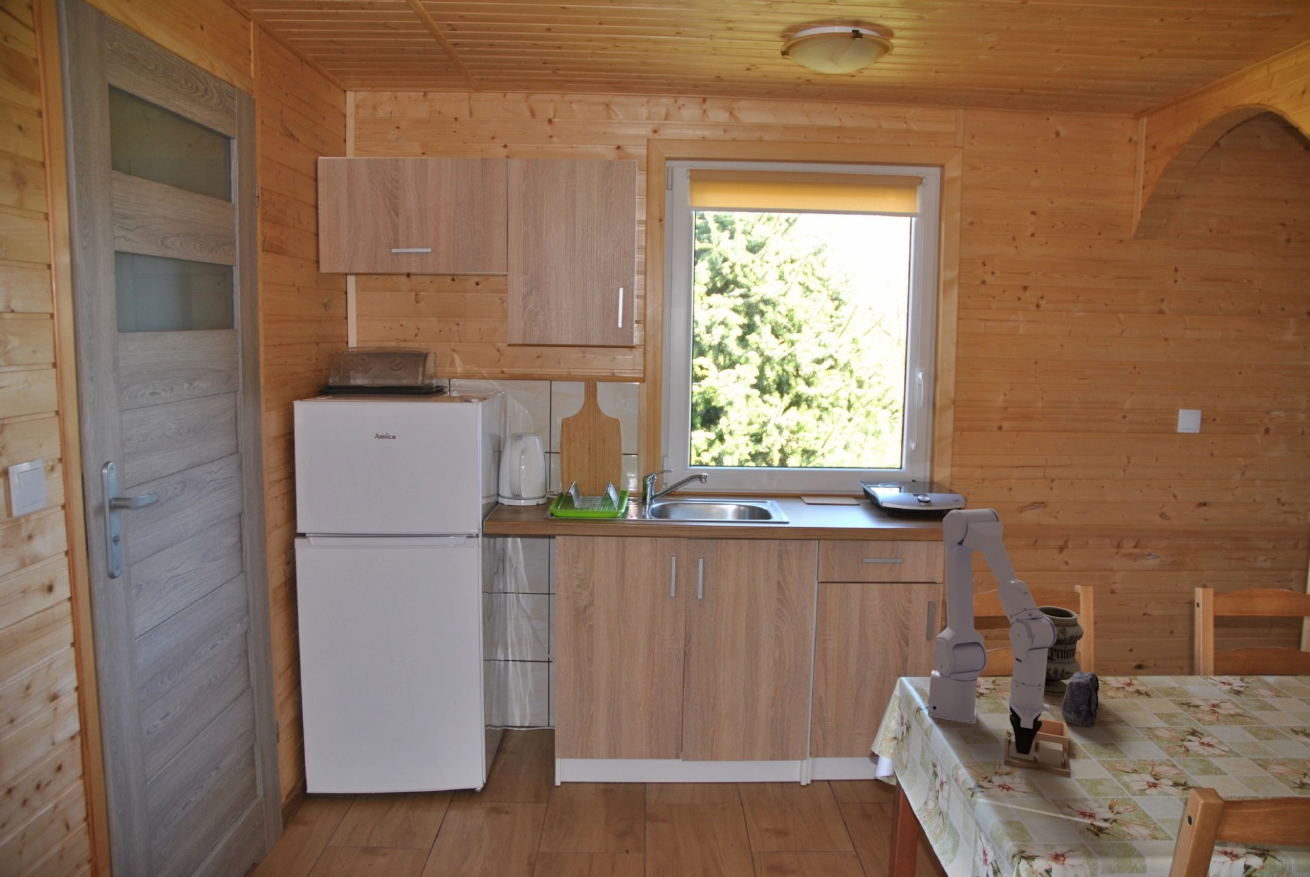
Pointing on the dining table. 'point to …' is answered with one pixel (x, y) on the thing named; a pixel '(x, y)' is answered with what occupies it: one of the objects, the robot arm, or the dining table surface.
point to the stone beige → (1050, 753)
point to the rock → (1081, 699)
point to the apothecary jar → (1061, 649)
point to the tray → (1035, 761)
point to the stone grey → (1022, 756)
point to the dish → (1053, 732)
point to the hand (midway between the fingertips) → (1022, 749)
